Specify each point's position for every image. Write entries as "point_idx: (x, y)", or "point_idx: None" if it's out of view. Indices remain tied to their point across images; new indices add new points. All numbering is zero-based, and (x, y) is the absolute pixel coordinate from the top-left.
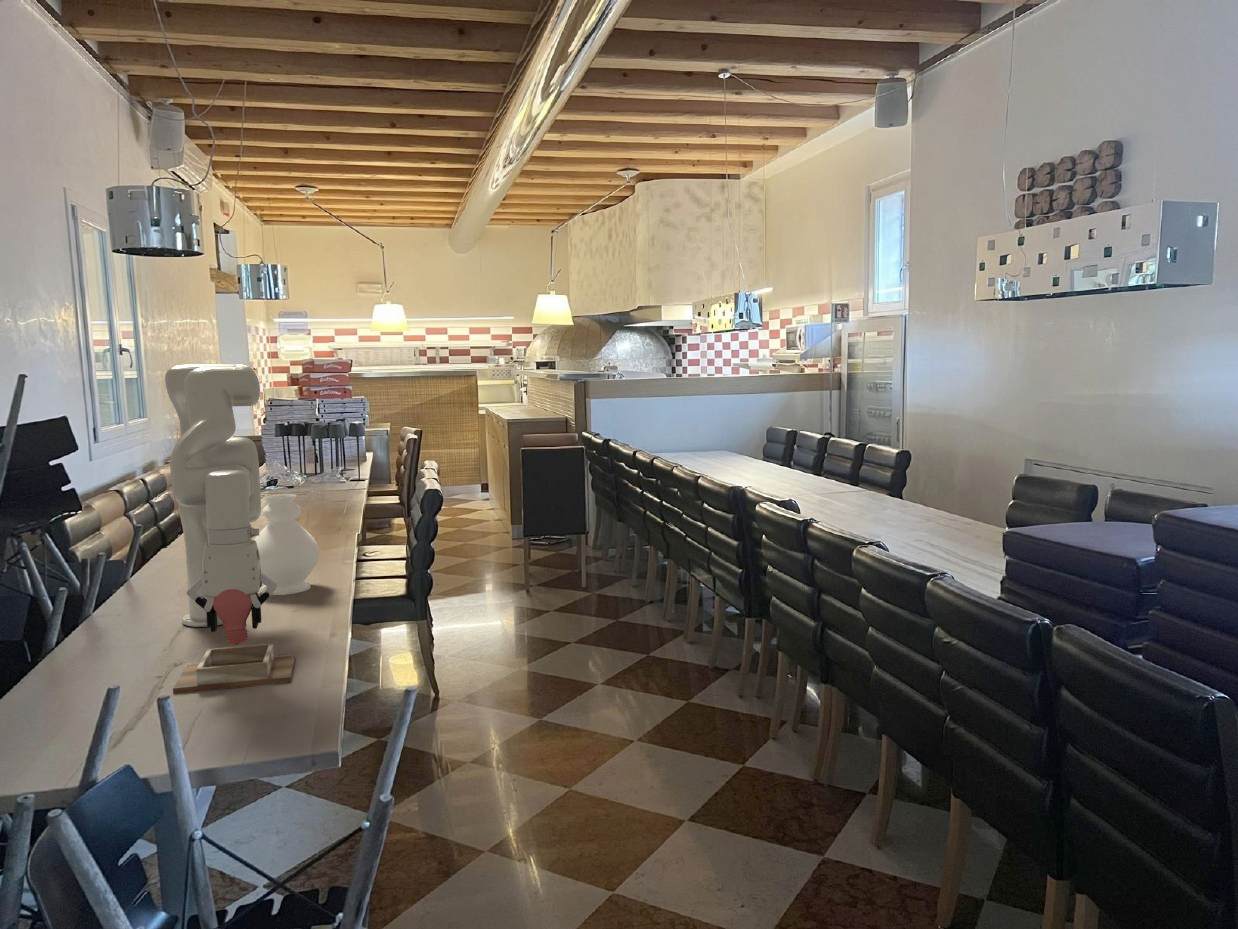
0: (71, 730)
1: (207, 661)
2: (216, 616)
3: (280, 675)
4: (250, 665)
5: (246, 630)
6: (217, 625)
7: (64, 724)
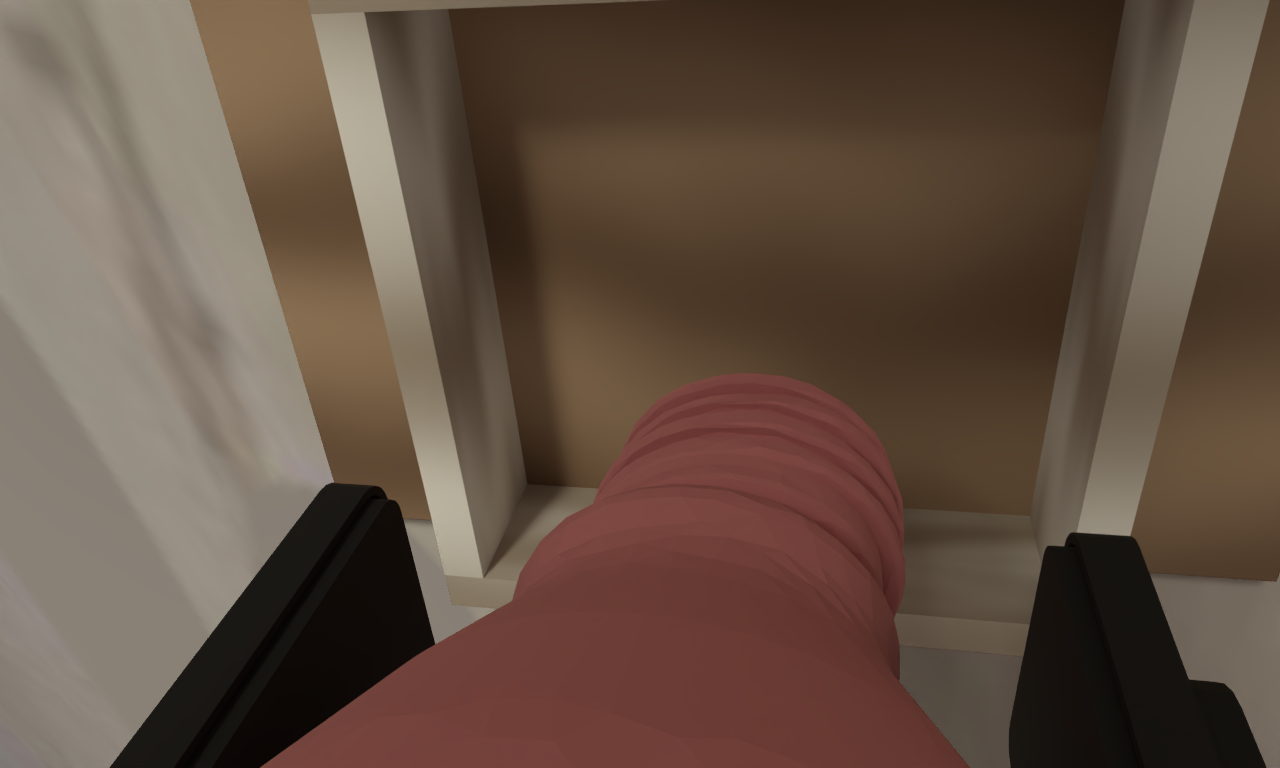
0: (104, 759)
1: (444, 290)
2: (305, 691)
3: (1195, 517)
4: (928, 643)
5: (893, 574)
6: (381, 512)
7: (20, 693)
